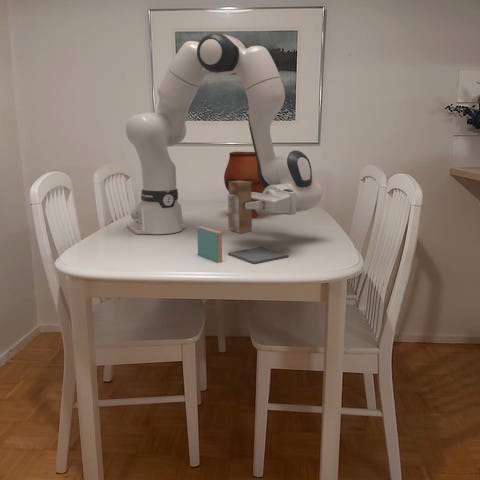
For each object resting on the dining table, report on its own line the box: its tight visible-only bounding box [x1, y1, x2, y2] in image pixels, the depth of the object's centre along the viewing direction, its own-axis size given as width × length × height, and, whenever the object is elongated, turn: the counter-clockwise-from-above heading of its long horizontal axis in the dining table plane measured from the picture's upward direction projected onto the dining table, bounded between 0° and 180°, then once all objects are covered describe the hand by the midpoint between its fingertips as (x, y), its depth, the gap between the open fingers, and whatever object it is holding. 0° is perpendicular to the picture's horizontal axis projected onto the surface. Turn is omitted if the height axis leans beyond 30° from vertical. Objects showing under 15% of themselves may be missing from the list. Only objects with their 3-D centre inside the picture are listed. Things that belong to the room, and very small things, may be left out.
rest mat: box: [227, 245, 290, 265], centre depth 136 cm, size 12×12×1 cm
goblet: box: [223, 151, 265, 219], centre depth 192 cm, size 19×19×25 cm
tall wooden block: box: [227, 180, 253, 235], centre depth 137 cm, size 5×5×14 cm
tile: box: [196, 225, 223, 263], centre depth 133 cm, size 10×2×8 cm, turn 36°
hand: (237, 204), depth 136 cm, fingers closed on tall wooden block, 5 cm apart
